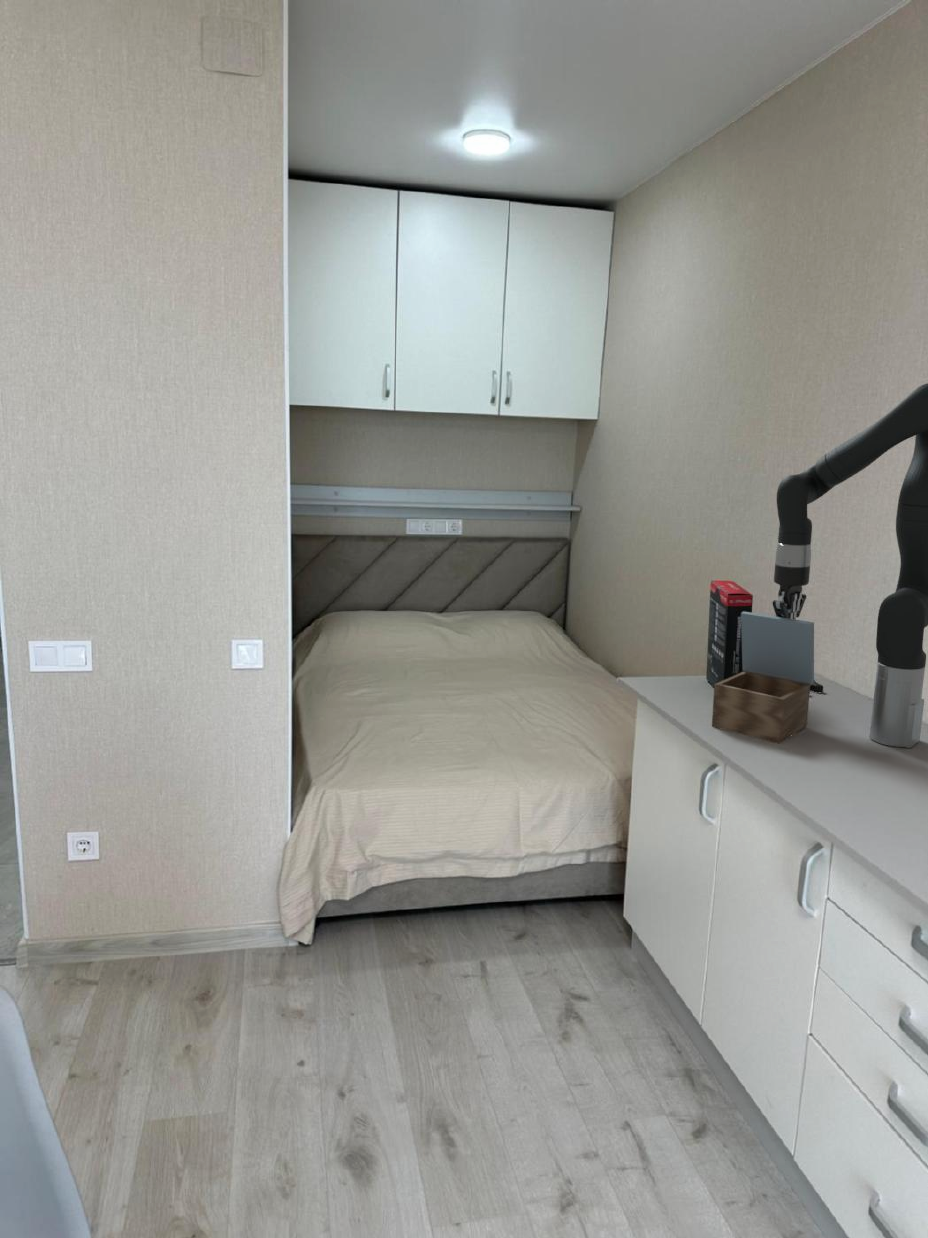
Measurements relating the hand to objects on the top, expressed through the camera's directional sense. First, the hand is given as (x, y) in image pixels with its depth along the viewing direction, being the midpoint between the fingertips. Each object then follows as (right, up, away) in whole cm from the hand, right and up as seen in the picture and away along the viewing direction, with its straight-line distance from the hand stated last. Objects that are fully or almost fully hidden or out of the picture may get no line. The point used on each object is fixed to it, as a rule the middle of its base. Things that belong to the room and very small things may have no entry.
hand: (786, 636), depth 207 cm
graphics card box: (-7, -14, +24) cm, 29 cm away
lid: (-4, -3, -3) cm, 6 cm away
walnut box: (-8, -20, -3) cm, 22 cm away
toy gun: (+11, -15, +23) cm, 29 cm away
